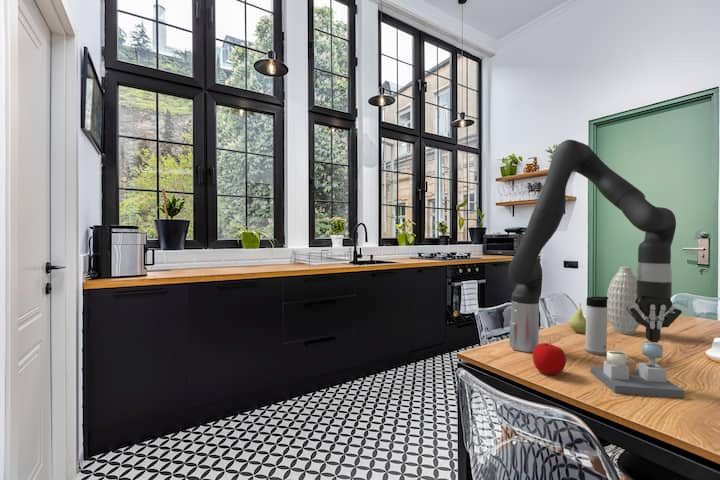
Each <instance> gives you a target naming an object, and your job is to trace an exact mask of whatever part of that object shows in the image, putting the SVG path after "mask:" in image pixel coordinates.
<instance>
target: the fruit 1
mask: <svg viewBox="0 0 720 480" xmlns="http://www.w3.org/2000/svg"><path fill="white" fill-rule="evenodd" d="M551 342H552V340H551V339H549V343H547V342H543V343H542V342H541V343H539V345H537V346H536V347H535V349H534V351H533V352H532V360H533V364H534V366H535V368H536V369H537V370H538V372H539V371H540V372H541V373H542V374H545V375H549V376H557V375H559V374H561V373H562V372H563V371H564V369H565V367H566V363H567V357H566V354H565V352H564V349H562V348H561V347H560V346H557V345H553V344H551Z"/></svg>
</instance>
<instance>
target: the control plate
mask: <svg viewBox="0 0 720 480" xmlns="http://www.w3.org/2000/svg"><path fill="white" fill-rule="evenodd" d="M590 374H592V376H594V377H595V378H597V379H598V380H599V381H600V382H601V383H602V384H603V385H605V386H606V387H607V388H608V389H610V390H611V391H612V392H613V393H615V394H624V395H635V396H636V395H637V396H647V397H648V396H650V397H664V398H675V399H676V398H677V399H678V398H679V399H685V390H684V389H682V388H681V387H679V386H678V385H676V384H675V383H673V382H671V381H669V380H668V379H667V369H666V368H664V367H663V366H661V365H659V364H658V363H655V368H652V367H649V362H638V369H637V368H636V374H630V373H629V367H628V366H625V367H618V366H613V365H610V364H608V363H607V360H603V366H592V365H591V366H590Z"/></svg>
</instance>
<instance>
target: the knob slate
mask: <svg viewBox="0 0 720 480" xmlns="http://www.w3.org/2000/svg"><path fill="white" fill-rule="evenodd" d="M641 349H642V350H641V352H642V353H641V354H642V355H643V356H645V357H647V358H648V363H649V367H652V368H655V364H656V359H662V358H663V357H664V346H663V345H662V344H660V343H656V342H650V341H649V342H646V341H645V342H642V345H641Z"/></svg>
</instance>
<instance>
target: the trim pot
mask: <svg viewBox="0 0 720 480" xmlns="http://www.w3.org/2000/svg"><path fill="white" fill-rule="evenodd" d="M630 357H631V356H630V355H628V354H626V366H628V367H629V373H630V374H636V369H637V367H636V365H637V364H636V360H633V359H632V358H630Z"/></svg>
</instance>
